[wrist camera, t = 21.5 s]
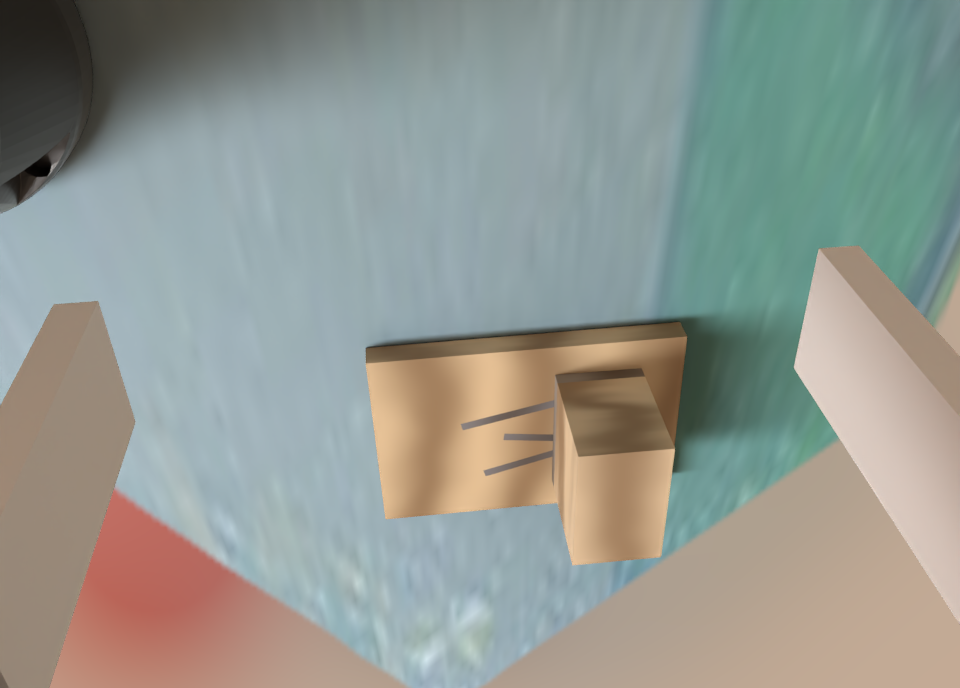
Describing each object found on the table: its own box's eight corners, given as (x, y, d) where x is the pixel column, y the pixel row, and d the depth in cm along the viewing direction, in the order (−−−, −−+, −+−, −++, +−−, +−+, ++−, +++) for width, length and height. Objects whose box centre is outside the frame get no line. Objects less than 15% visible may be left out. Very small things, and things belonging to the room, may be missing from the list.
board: (385, 502, 59) (385, 519, 57) (365, 348, 52) (365, 363, 50) (662, 476, 60) (669, 492, 58) (679, 322, 53) (687, 336, 52)
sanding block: (551, 478, 57) (572, 565, 51) (555, 374, 52) (578, 456, 46) (631, 472, 57) (660, 557, 51) (641, 368, 53) (675, 448, 47)
